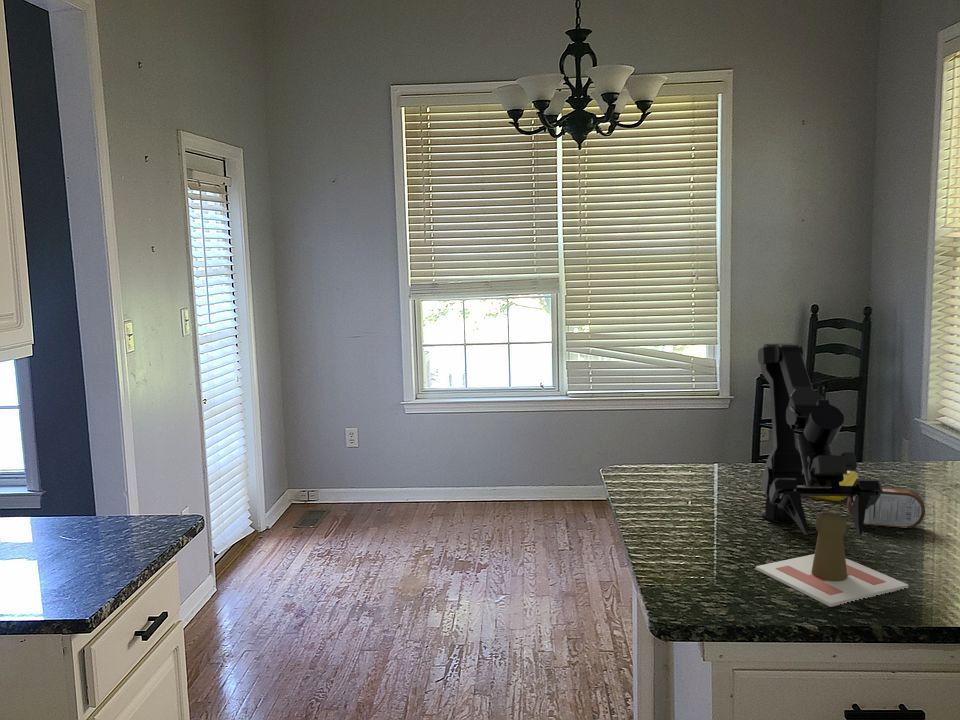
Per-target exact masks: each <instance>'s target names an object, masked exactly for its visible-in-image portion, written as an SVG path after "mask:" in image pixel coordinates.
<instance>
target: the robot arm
mask: <svg viewBox="0 0 960 720" xmlns="http://www.w3.org/2000/svg"><path fill="white" fill-rule="evenodd" d="M803 357H804V350H803V347H802V345H799V344H798V343H797V344H795V343H794V344H793V343H763V347H760V348H758V351H757V360H758V361H757V362H758V364H759V365H760V370H761V371H760V373H761V374H762V375H763V377H764V378H765V379H766V382H767V383H769V384H768V385H769V392H770V393H769V394H770V395H769V396H770V411H771V429H772V430H771V431H772V441H773V442H772V446H773V447H772V448H773V449H772V451H771V452H770V454H769V455H768V457H767V459H766V466H765V468H764V470H763V473H762V475H761V478H760V485H761V486H760V487H761V490H762V492H764V493H765V495H766V498H765V509H764V510H765V512H764V513H761V517H762V518H765V519H767V520H769V521H772V522H774V523H777V524H780V525H786V524H791V523H795V524H796V525H797V526H798V528H799V529H800V530H801V532H802V533H803V535H804V536H805V535H807V536H808V534H809V527H808V522H807V519H806V514H805V512H804V508H803V505H802V497H809V496H842V497H846V498H848V497H850V499H851V502H852V503H853V504H852V506H851V510H852V515H853V518H852V519H853V523H854V527H855V530H856V533H857V535H858V536H859V537H861V536H862V535H863V529H864V525H863V524H864V517H865V511H866V509H868V508H869V507H870V506H871V505H874V504H875V503H876V501H877V500H878V498H879V497H880V495H881V493H882V492H883V490H882V487H883V486H882V484H881V482H880V481H879V480H878V479H876V478H857V479H856V481H855V482H854V484H853V486H840V484H839V482H842V481H843V480H844V477H843V474H847V471H855V470H857V467H858V464H857V458H856V455H855V452H854V451H853V452H852V451H851V452H850V451H849V452H848V451H847V452H846V451H845V452H843V453H841V454H840V455H835V454H834V453H833V450H832V445H831V444H832V443H834V442H835V441H836V439H837V437H838V434H839V433H840V430H841V428H842V427H843V425H844V422H845V415H844V413H842V411H841V410H840V408H837V407H836V406H835V405H832V404H830V401H829V399H824V397H823V396H822V395H821V394H820V393H818V392H817V391H816V390H814V388H813V385H812V381H811V379H810V375H809V373H808V370H807V368H806V367H807V366H806V364H805V361H804V358H803ZM796 431H802V432H801V433H798V436H797V438H796V434H795V433H796ZM796 440H797V446H796Z"/></svg>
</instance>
